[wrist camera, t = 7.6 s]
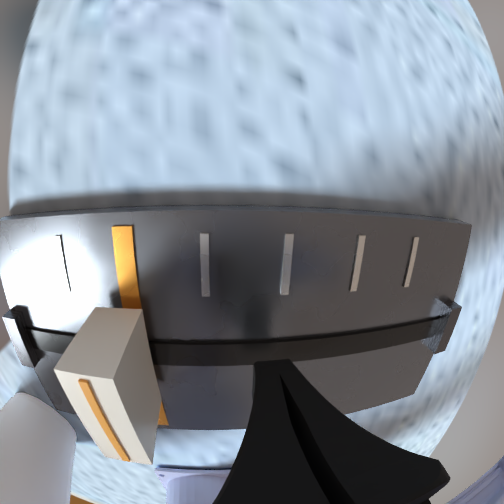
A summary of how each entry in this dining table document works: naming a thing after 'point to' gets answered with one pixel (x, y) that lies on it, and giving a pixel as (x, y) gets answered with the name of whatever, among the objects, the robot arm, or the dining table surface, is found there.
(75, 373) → the block
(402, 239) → the console
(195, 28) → the dining table surface
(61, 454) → the foam cup
